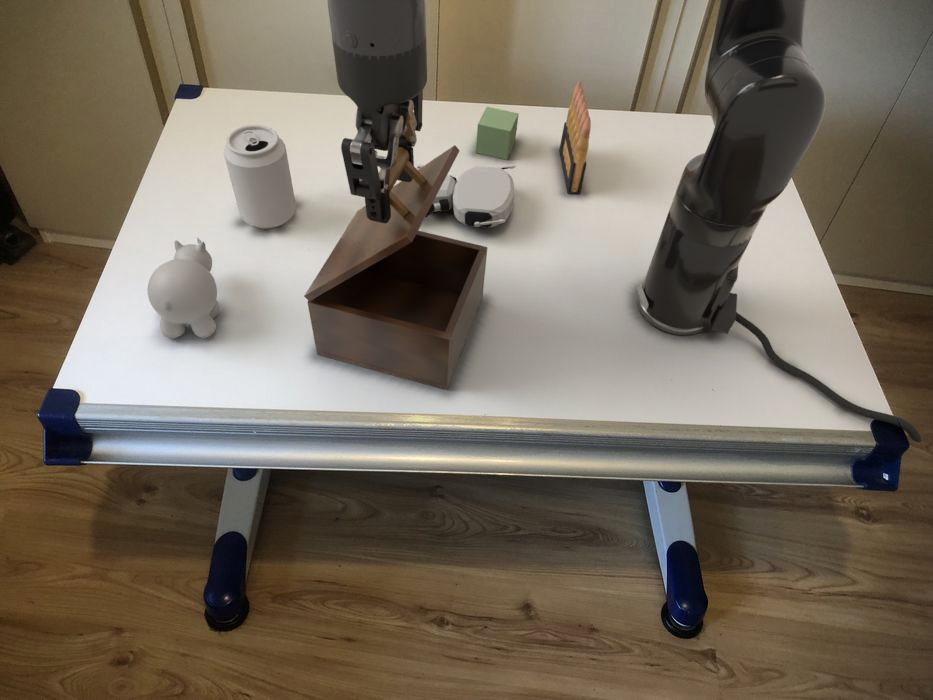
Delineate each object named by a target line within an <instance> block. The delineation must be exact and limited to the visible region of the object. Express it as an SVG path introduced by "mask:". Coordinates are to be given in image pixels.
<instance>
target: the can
mask: <svg viewBox="0 0 933 700" xmlns="http://www.w3.org/2000/svg"><path fill="white" fill-rule="evenodd" d="M223 156H224V160H225V164H226V167H227V168H226V169H227V171H228V176H229V179H230V183H231V187H232V191H233V195H234V199H235V203H236V206H237V209H238V214H239V216H240V218H241V220H243V221H244V222H245V223H246V224H247V225H250V226H251V227H255V228H259V229H274V228H277V227H278V228H279V227H280V226H282V225H284V224H286V223H287V222H288V221H289V220H290V219H291V218H293V216H294V215H295V213H296V211H297V203H296V198H295V197H296V196H295V192H294V186H293V180H292V175H291V170H290V163H289V158H288V153H287V146H286V144H285V142H284V140H283V139H282V138H281V137H280V136H279V134H278V132H277V131H276V130H275V129H273V128H272V127H269V126H267V125H263V124H248V125H243V126H240V127H238V128H235V129H234V130H233V131H231V132H230V133H229V134H228V136H227V137H226V144H225V146H224V148H223Z"/></svg>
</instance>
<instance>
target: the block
mask: <svg viewBox="0 0 933 700" xmlns="http://www.w3.org/2000/svg"><path fill="white" fill-rule="evenodd" d="M519 114H520V113H518V112H514V111H509V110H505V109H500V108H494V107H490V106H486V107H485V109H484V112H483V113H482V115H481V116H480V118H479V121H478V123H477V128H476V145H475V153H476V154H479V155H484V156H488V157H493V158H498V159H502V160H506V161H507V160H508V159H509V157H510V155H511V153H512V150H513V148H514V145H515V144H516V139H517V131H518V123H519Z"/></svg>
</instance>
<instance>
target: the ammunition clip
mask: <svg viewBox="0 0 933 700" xmlns="http://www.w3.org/2000/svg"><path fill="white" fill-rule="evenodd" d="M568 107H569V108H568V109H567V116H566V121H565V122H564V124H563V129H562V132H561V133H562V134H561V138H560V145H559V149H558V152H559V157H560V162H561V169H562V172H563V173H562V174H563V178H564V183H565V187H566V192H567V194H581V190H582V187H583V182H584V179H585V178H584V177H585V173H586V168H587V160H586V159H587V155H588V151H589V145H590V142H589V141H590V134H591V129H592V128H591V127H592V123H591V117H590V114H589V109H588V105H587V101H586V97H585V95H584V90H583V86H582V82H581V81H580V80H579V81H578V82H577V84H576V85H575V87H574V90H573V93H572V97H571V101H570V105H569V106H568Z"/></svg>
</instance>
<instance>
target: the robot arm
mask: <svg viewBox="0 0 933 700" xmlns="http://www.w3.org/2000/svg"><path fill="white" fill-rule="evenodd" d="M426 7H427V5H426V0H327V9H328V17H329V26H330V32H331V40H332V48H333V55H334V63H335V71H336V72H335V73H336V79H337V84H338V87H339V89H340V90H341V92H342V93H343V94H344V95H345V96H346V97H348V98H349V99H350V100H351V101H352V102H353V103H354V104H355V105H356V108H357V109H356V113H355V122H354V123H355V124H354V125H355V128H356V130H357V132H356V134H355V136H354V138H347V137H344V138H343V139H342V141H341V144H340V145H341V146H340V149H341V155H342V160H343V163H344V169H345V172H346V178H347V183H348V186H349V187H348V188H349V191H350V195H352V196H356V197H362V198H364V203H365V205H364V206H366V214H367V218H368V219H369V220H371V221H376V222H380V223H388V221H389V220H390V218H391V208H390V196H389V178H390V169H391V167H394V166H395V165H396V162H397V152H398V147H402V148H404V149H406V150H407V151H408V153H409V155H410V159H409V161H410V162H411V164H412V165H413V166H414V167H415V161H414V160H415V159H414V147H415V146H416V144H417V134H416V133H417V132H420V131H421V130H422V128H423V98H424V97H423V96H424V95H423V91H424V90H425V87H426V85H427V82H428V55H427V54H428V52H427V50H428V49H427V12H426V11H427V10H426V9H427V8H426ZM806 7H807V0H720V1H719V7H718V10H717V11H718V12H717V17H716V23H715V26H714V32H713V36H712V41H711V45H710V51H709V57H708V61H707V66H706V72H705V79H704V97H705V101H706V104H707V108H708V111H709V114H710V116H711V119H712V122H713V125H714V128H713V132H712V135H711V138H710V140H709V143H708V145H707V147H706V150H705V152H704V153H700V154H698V155H696V156H694V157H693V158H691V159H690V160H689V162H687V164H686V165H685V167H684V169H683V171H682V174H681V177H680V179H679V182H678V185H677V188H676V191H675V193H674V196H673V198H672V202H671V204H670V207H669V210H668V212H667V216H666V217H665V221H664V223H663V227H662V229H661V232H660V235H659V238H658V241H657V244H656V246H655V249H654V251H653V255H652V257H651V260H650V263H649V266H648V269H647V271H646V275H645V277H644V279H643V282H642V283H641V282H640V281H639V283H638V285H637V288H636V290H637V307H638V310H639V312H640V313H641V315H642V316H643V318H644V319H645V320H646V321H647V322H648V323H649V324H651V325H652V326H653V327H655V328H656V329H658V330H661V331H663V332H666V333H669V334H673V335H678V336H690V335H695V334H698V333H701V332H702V333H707V334H710V333H711V332H712V331H714V332H719V333H724V334H727V335H728V334H729V333H730V331H731V328H732V327H733V325H734V323H735V322H736V323H737V324H740V325H741V326H742V327H743V328H745V329H747V330H748V331H749V332H750V333H751V334H753V335H754V336H755V337H756V338H757V339H758V341H759V342H760V344H761V346H762V348H763V350H764V352H765V354H766V356H767V358H769V359H770V360H771V361H772V362H773V363H774V364H775V365H776V366H778V367H779V368H781V369H782V370H784V371H786V372H787V373H790V374H791V375H792V376H794V377H795V376H796V377H797V378H798V379H801V380H803V381H804V382H806V383H807V384H809V385H810V386H812V387H814V388H815V389H816V390H818V392H821V393H822V394H823V395H825V396H826V397H827V398H829V399H830V400H831V401H832V402H834V403H836V404H837V405H839V406H841V407H842V408H844V409H845V410H847V411H849V412H852V413H853V414H856V415H858V416H861V417H865V418H868V419H872V420H876V421H879V422H885V423H888V424H891V425H895V426H896V427H899V428H900V429H902V430H904V431H905V432H906V433H907V434H908V436H909V437H910V439H911V440H912V441H914V442H915V443H921V442H922V437H921V434H920V433H919V431H918V430H917V429H916V426H914V424H912V423H910V422H909V421H907V420H905V419H903V418H901V417H898V416H895V415H892V414H888V413H885V412H880V411H876V410H873V409H868V408H865V407H862V406H860V405H858V404H855V403H853V402H851V401H850V400H848V399H846V398H844V397H843V396H841V395H840V394H838V393H837V392H836V391H834V390H833V389H832V388H830V387H829V386H827V385H826V384H825V383H823V382H822V381H820V380H819V379H818V378H816V377H815V376H813V375H812V374H810V373H808V372H806V371H804V370H802V369H801V368H798V367H796V366H794V365H793V364H790V363H789V362H787V361H786V360H784V359H782V358H781V357H780V356H779V355H778V354H777V353H776V351H774V348H773V346H772V344H771V342H770V340H769V338H768V337H767V335H766V334H765V333H764V332H763V330H761V329H760V328H759V327H758V326H756V325H755V324H754V323H753V322H751V321H750V320H749V319H747V318H746V317H744V316H743V315H741V314H740V313H738V311H737V304H738V293H734V292H732V290H733V288H734V286H735V284H736V282H737V280H738V276H739V264H740V262H741V260H742V258H743V256H744V254H745V252H746V249H748V246H749V243H750V242H751V240H752V237H753V235H754V234H755V231H756V229H757V227H758V225H759V223H760V222H761V220H762V218H763V215H764V213H765V212H766V209H767V207H768V206H769V205H770V204H771V203H772V202H773V201H775V200H776V199H777V198H778V197H779V196H780V195H781V194H782V193H783V192H784V191H785V189H786V188H787V186H788V185H789V184H790V183H789V182H790V181H791V179H792V178H793V176H794V174H795V173H796V170H797V169H798V167H799V165H800V164H801V162H802V160H803V158H804V157H805V155H806V153H807V151H808V150H809V148H810V147H811V144H812V142H813V140H814V139H815V137H816V134H817V133H818V131H819V128H820V126H821V123H822V121H823V118H824V114H825V111H826V105H827V98H826V97H827V96H826V91H825V89H824V86H823V84H822V82H821V80H820V78H819V77H818V75H817V73H816V71H815V70H814V68H813V66H812V64H811V63H810V61H809V59H808V57H807V56H806V53H805V49H804V26H805V17H806V16H805V15H806ZM378 151H383V152H387V154H386V156H385V155H384V156H383V155H379V154H378ZM379 169H380V170H381V175H380V179H379ZM412 179H413V178H412V177H411V176H410V175H409V174H408V173H407V172H406V171H405V170H404V169H403V171H402V173H401V174H400V176H399V178H398V180H397V181H399V182H401V181H404V182H411V181H412ZM894 418H895V419H894ZM897 420H898V421H897ZM898 422H899V423H900V425H901V427H900V425H899V423H898Z"/></svg>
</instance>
